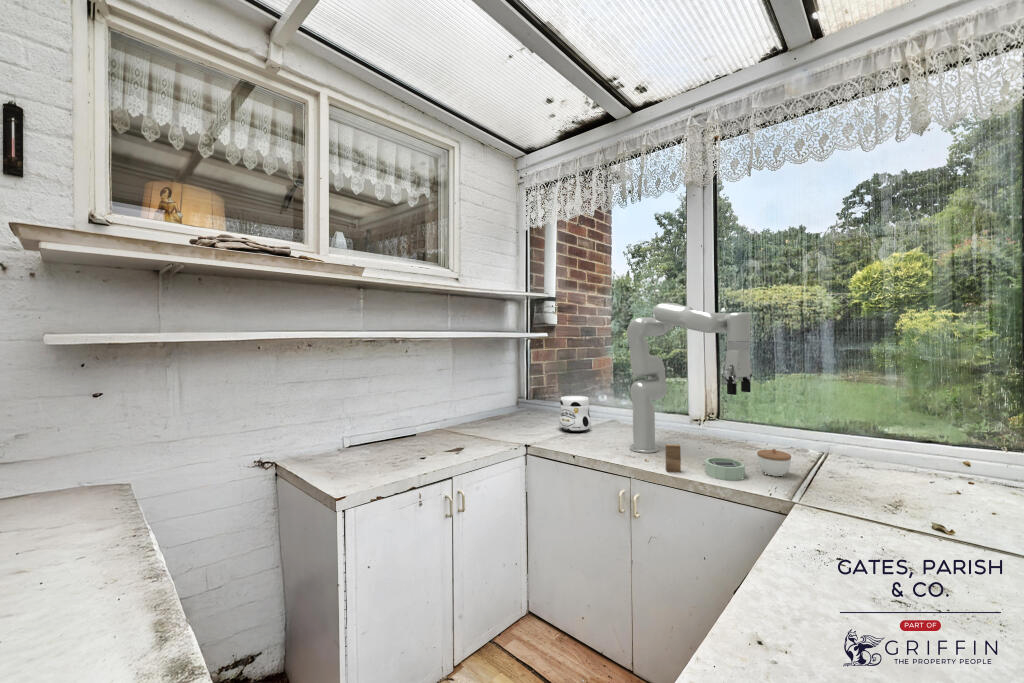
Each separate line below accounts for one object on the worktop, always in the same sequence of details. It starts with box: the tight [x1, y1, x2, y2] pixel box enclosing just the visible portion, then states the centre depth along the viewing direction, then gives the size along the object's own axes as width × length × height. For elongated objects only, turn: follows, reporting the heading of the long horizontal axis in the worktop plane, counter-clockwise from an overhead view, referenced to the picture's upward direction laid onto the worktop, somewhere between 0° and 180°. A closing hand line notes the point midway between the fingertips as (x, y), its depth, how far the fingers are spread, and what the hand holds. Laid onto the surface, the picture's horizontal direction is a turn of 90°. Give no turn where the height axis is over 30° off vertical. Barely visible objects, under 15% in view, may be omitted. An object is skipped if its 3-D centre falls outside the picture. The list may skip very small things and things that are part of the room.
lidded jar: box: [756, 448, 792, 477], centre depth 159 cm, size 11×11×9 cm
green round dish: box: [704, 456, 746, 481], centre depth 159 cm, size 13×13×4 cm
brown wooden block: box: [664, 443, 682, 473], centre depth 164 cm, size 2×5×10 cm, turn 82°
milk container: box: [558, 395, 592, 433], centre depth 234 cm, size 17×17×18 cm
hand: (738, 393), depth 156 cm, fingers open, 9 cm apart
